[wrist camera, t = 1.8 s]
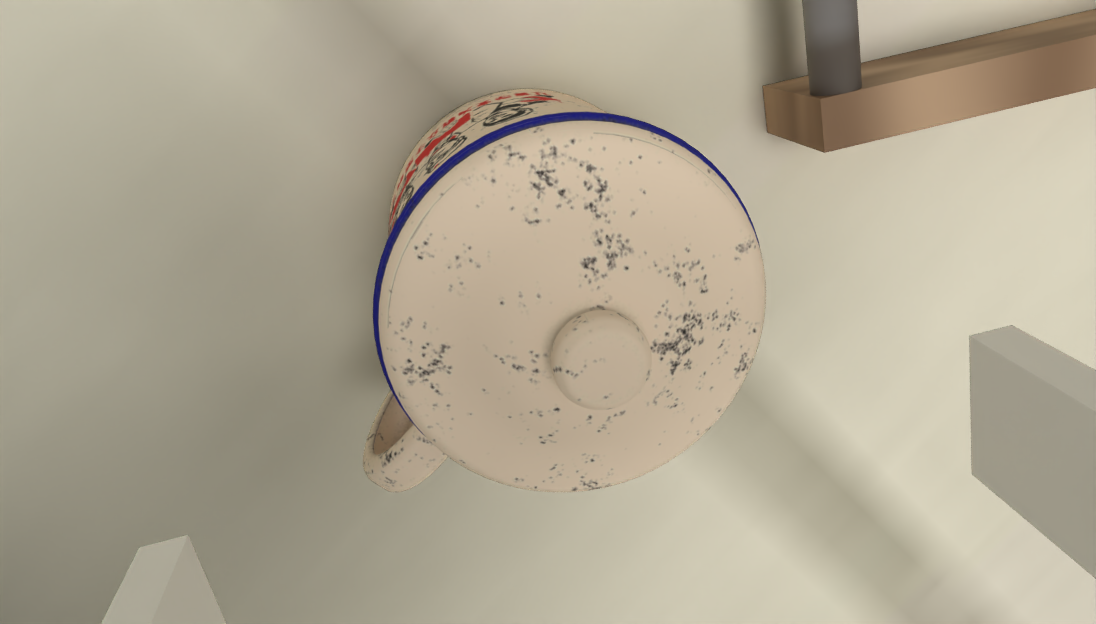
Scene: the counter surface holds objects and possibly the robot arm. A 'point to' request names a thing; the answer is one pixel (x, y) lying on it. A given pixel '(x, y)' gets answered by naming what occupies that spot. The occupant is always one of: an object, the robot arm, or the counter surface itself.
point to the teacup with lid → (558, 298)
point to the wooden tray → (922, 78)
